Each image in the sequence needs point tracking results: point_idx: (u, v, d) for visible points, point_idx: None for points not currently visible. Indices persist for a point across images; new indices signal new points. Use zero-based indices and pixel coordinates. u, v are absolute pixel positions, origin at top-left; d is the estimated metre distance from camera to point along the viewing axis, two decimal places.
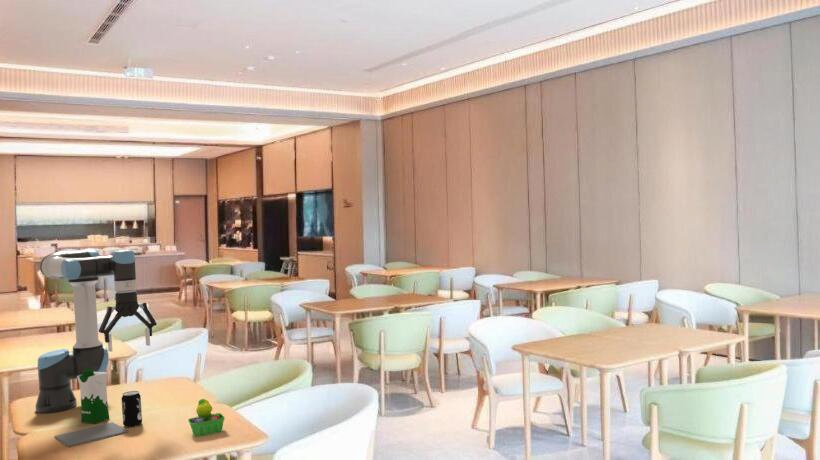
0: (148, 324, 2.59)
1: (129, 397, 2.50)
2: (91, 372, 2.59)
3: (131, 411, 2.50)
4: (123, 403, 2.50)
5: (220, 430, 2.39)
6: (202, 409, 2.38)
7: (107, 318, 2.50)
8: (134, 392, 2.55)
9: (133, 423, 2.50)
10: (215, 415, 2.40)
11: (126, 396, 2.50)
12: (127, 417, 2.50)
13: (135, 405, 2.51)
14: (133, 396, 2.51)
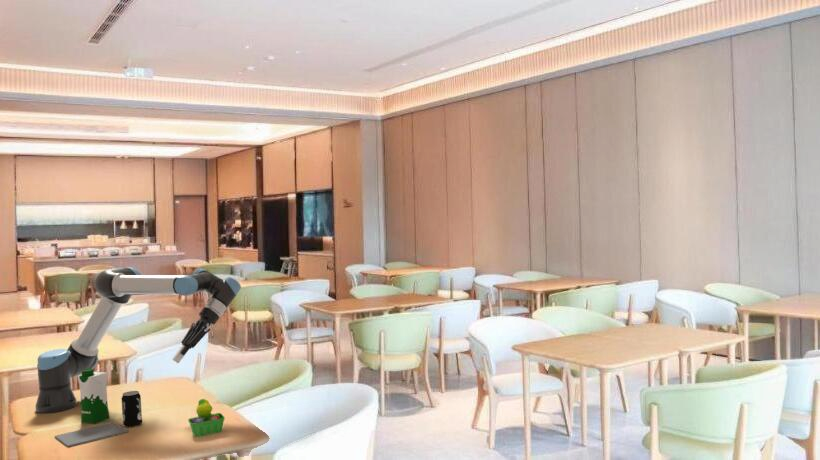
0: (187, 342, 2.67)
1: (129, 397, 2.50)
2: (91, 372, 2.59)
3: (131, 411, 2.50)
4: (123, 403, 2.50)
5: (220, 430, 2.39)
6: (202, 409, 2.38)
7: (188, 331, 2.73)
8: (134, 392, 2.55)
9: (133, 423, 2.50)
10: (215, 415, 2.40)
11: (126, 396, 2.50)
12: (127, 417, 2.50)
13: (135, 405, 2.51)
14: (133, 396, 2.51)
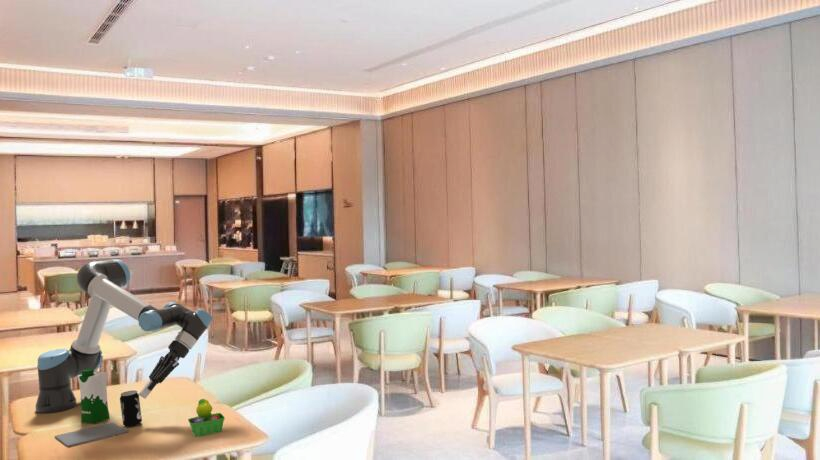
0: (155, 376, 2.58)
1: (127, 397, 2.50)
2: (91, 372, 2.59)
3: (130, 410, 2.50)
4: (122, 403, 2.50)
5: (220, 430, 2.39)
6: (202, 409, 2.38)
7: (156, 365, 2.64)
8: (132, 392, 2.54)
9: (132, 422, 2.50)
10: (215, 415, 2.40)
11: (124, 396, 2.50)
12: (127, 417, 2.50)
13: (134, 404, 2.51)
14: (131, 396, 2.50)
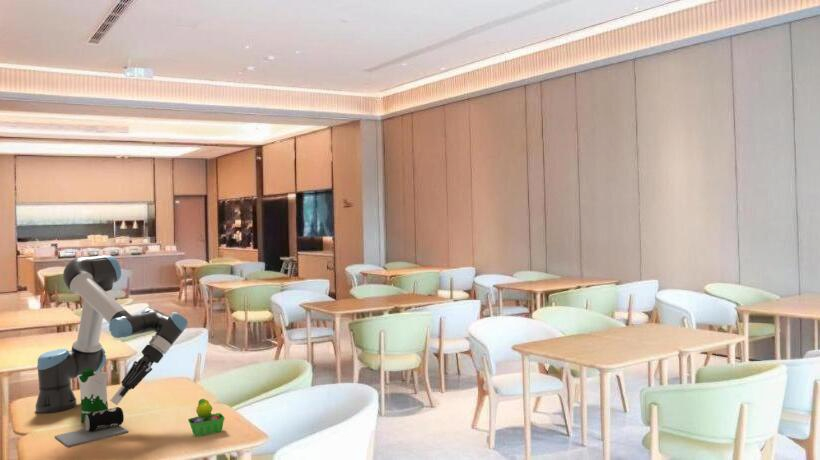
0: (127, 382, 2.51)
1: (91, 422, 2.44)
2: (91, 372, 2.59)
3: (106, 417, 2.47)
4: (98, 427, 2.45)
5: (220, 430, 2.39)
6: (202, 409, 2.38)
7: (129, 370, 2.57)
8: (86, 419, 2.47)
9: (119, 414, 2.50)
10: (215, 415, 2.40)
11: (90, 425, 2.44)
12: (113, 420, 2.48)
13: (100, 415, 2.46)
14: (90, 418, 2.44)
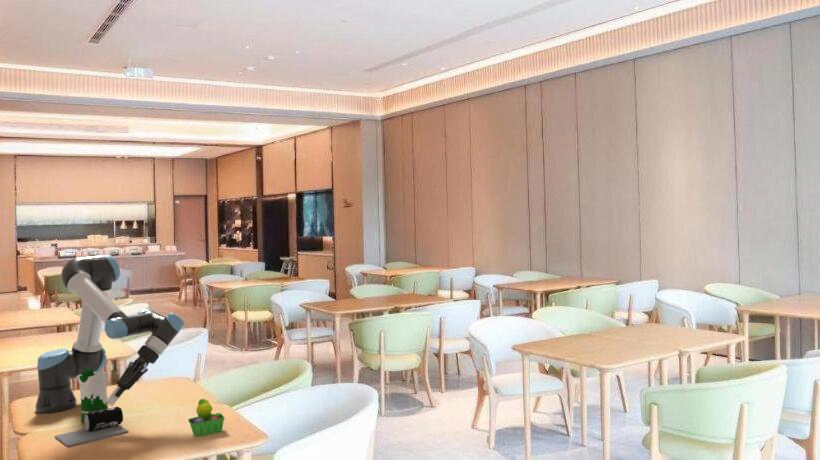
0: (123, 383, 2.50)
1: (90, 420, 2.44)
2: (91, 372, 2.59)
3: (105, 415, 2.48)
4: (97, 425, 2.46)
5: (220, 430, 2.39)
6: (202, 409, 2.38)
7: (125, 371, 2.56)
8: (85, 420, 2.47)
9: (118, 412, 2.50)
10: (215, 415, 2.40)
11: (89, 423, 2.44)
12: (112, 418, 2.49)
13: (98, 413, 2.47)
14: (89, 416, 2.45)
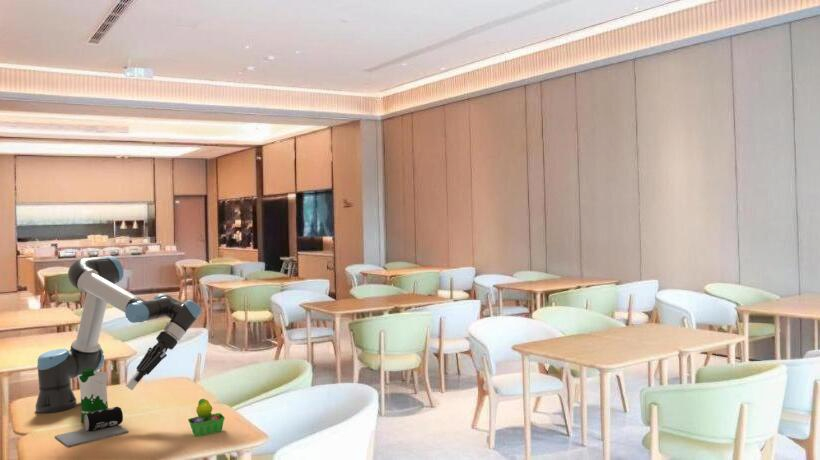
0: (142, 368, 2.55)
1: (90, 419, 2.45)
2: (91, 372, 2.59)
3: (105, 414, 2.48)
4: (97, 425, 2.46)
5: (220, 430, 2.39)
6: (202, 409, 2.38)
7: (144, 356, 2.61)
8: (85, 420, 2.48)
9: (118, 411, 2.51)
10: (215, 415, 2.40)
11: (89, 423, 2.44)
12: (112, 417, 2.49)
13: (98, 412, 2.47)
14: (89, 416, 2.45)
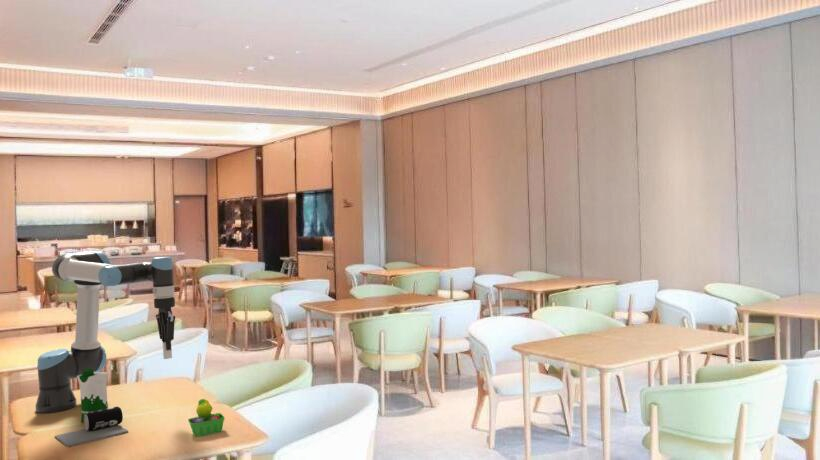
0: (164, 337, 2.61)
1: (90, 418, 2.45)
2: (91, 372, 2.59)
3: (104, 414, 2.48)
4: (97, 424, 2.46)
5: (220, 430, 2.39)
6: (202, 409, 2.38)
7: (158, 325, 2.65)
8: (85, 420, 2.48)
9: (117, 410, 2.51)
10: (215, 415, 2.40)
11: (89, 422, 2.45)
12: (112, 416, 2.49)
13: (98, 412, 2.48)
14: (89, 415, 2.46)
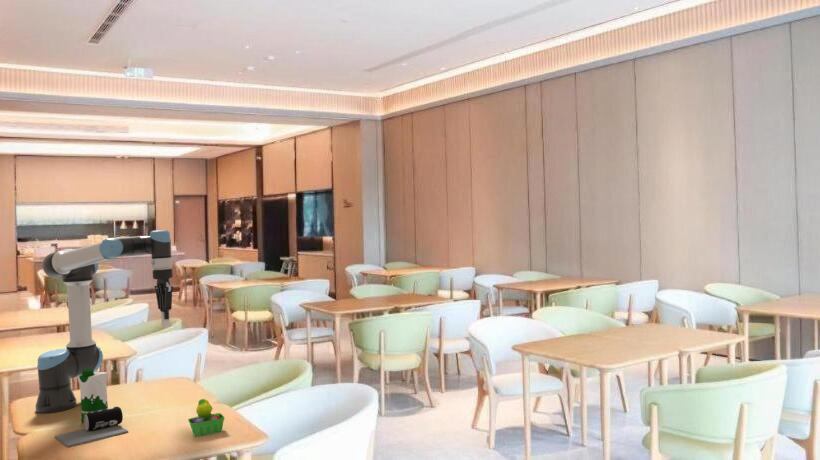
0: (163, 307, 2.73)
1: (90, 418, 2.45)
2: (91, 372, 2.59)
3: (104, 414, 2.48)
4: (97, 424, 2.46)
5: (220, 430, 2.39)
6: (202, 409, 2.38)
7: (156, 295, 2.77)
8: (85, 420, 2.48)
9: (117, 410, 2.51)
10: (215, 415, 2.40)
11: (89, 422, 2.45)
12: (112, 416, 2.49)
13: (98, 412, 2.48)
14: (89, 415, 2.46)
